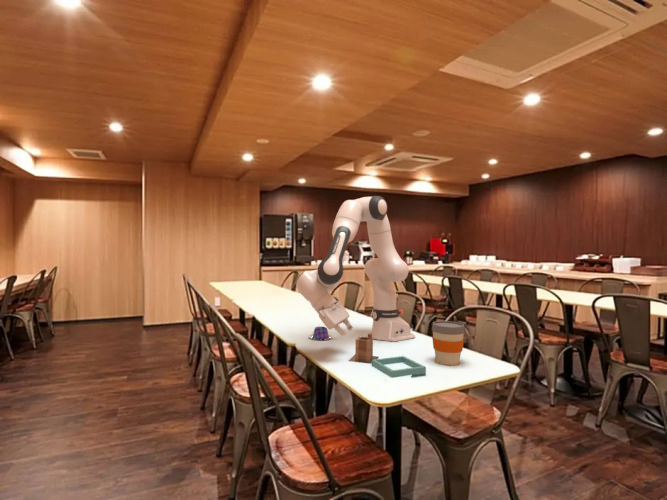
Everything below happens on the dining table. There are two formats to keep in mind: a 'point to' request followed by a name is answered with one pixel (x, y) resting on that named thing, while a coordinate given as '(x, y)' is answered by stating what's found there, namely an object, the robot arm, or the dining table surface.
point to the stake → (363, 361)
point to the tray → (415, 371)
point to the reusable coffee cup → (448, 341)
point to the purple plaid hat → (320, 333)
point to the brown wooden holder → (364, 348)
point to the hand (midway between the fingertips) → (348, 331)
